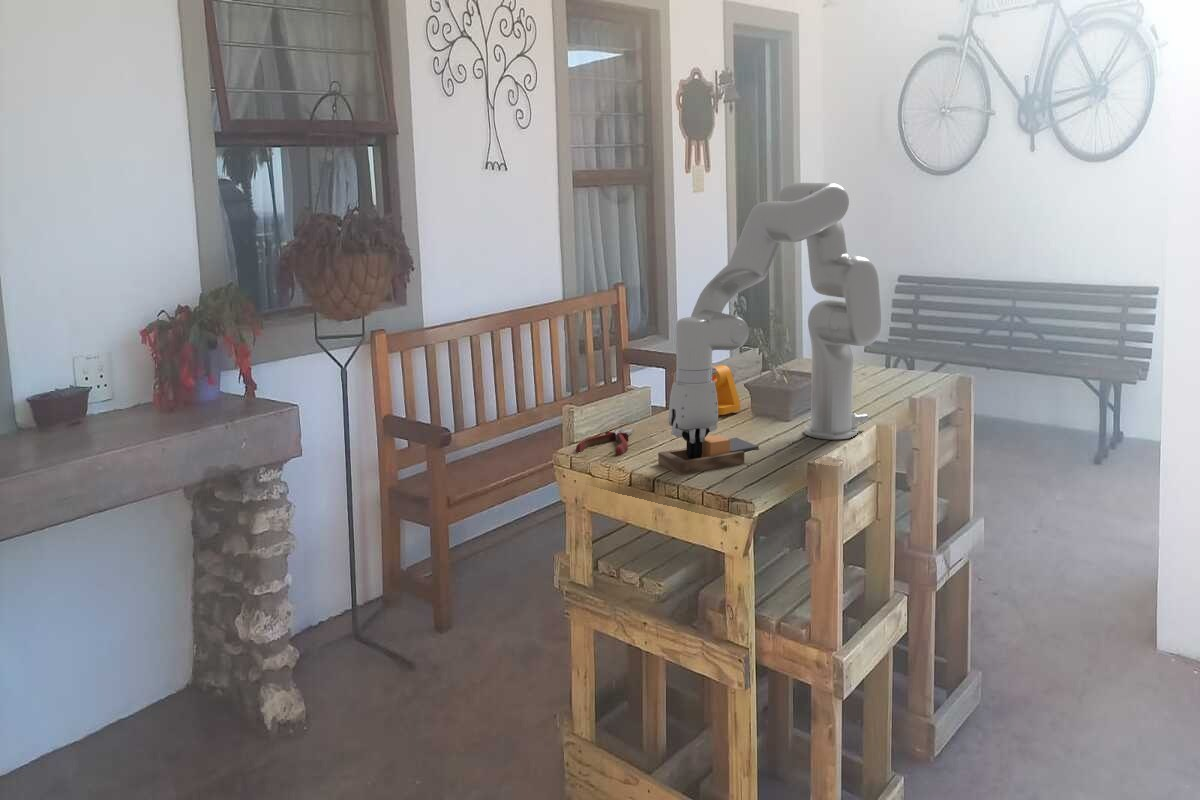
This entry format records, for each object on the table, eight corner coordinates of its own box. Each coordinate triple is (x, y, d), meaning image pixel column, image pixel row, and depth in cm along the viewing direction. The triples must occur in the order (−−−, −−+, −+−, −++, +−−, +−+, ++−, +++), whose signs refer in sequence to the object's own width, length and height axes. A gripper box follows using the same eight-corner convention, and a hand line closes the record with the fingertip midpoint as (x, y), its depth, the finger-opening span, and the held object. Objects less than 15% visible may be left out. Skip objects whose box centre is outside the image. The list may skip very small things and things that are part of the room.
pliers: (650, 435, 251) (650, 425, 250) (621, 458, 233) (621, 447, 232) (606, 432, 255) (606, 422, 255) (574, 454, 237) (573, 443, 237)
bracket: (690, 411, 272) (689, 366, 269) (708, 406, 277) (708, 362, 274) (721, 418, 264) (721, 372, 261) (740, 413, 269) (740, 367, 266)
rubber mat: (736, 440, 243) (736, 437, 243) (758, 448, 235) (758, 446, 235) (707, 444, 240) (707, 442, 240) (728, 454, 232) (728, 451, 232)
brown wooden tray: (720, 452, 233) (720, 442, 232) (744, 463, 225) (744, 451, 224) (658, 463, 226) (658, 452, 226) (680, 474, 218) (680, 463, 217)
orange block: (717, 456, 230) (717, 434, 229) (729, 462, 226) (730, 439, 224) (697, 459, 228) (698, 437, 227) (710, 465, 223) (710, 442, 222)
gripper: (714, 369, 227) (714, 450, 231) (654, 376, 220) (655, 460, 224) (733, 375, 220) (733, 458, 224) (672, 382, 214) (673, 468, 218)
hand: (694, 459), depth 224 cm, fingers closed
